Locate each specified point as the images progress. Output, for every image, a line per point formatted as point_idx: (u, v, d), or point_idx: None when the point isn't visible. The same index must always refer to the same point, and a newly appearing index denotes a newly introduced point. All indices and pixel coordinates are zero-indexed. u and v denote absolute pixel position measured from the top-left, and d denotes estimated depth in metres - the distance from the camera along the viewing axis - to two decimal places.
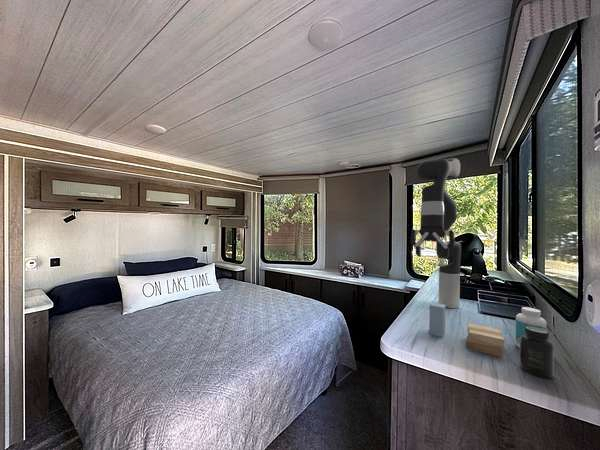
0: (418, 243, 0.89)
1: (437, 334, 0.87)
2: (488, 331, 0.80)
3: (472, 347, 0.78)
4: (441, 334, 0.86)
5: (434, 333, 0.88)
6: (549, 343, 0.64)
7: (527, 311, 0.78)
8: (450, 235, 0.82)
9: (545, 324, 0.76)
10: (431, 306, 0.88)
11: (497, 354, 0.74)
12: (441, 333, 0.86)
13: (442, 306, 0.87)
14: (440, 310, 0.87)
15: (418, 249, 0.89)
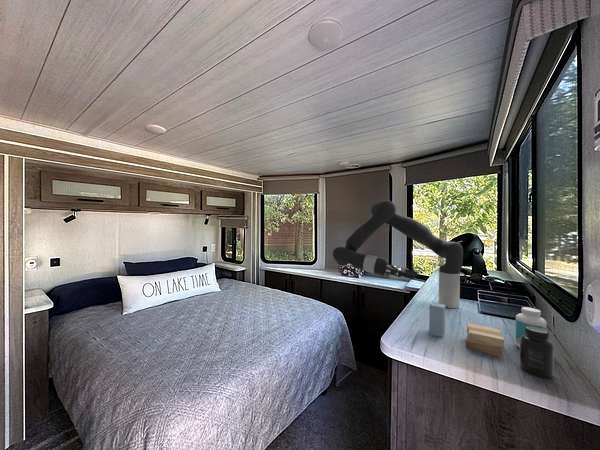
0: None
1: (437, 334, 0.87)
2: (487, 331, 0.80)
3: (472, 347, 0.78)
4: (441, 334, 0.86)
5: (434, 333, 0.88)
6: (549, 343, 0.64)
7: (527, 311, 0.78)
8: (390, 274, 0.94)
9: (545, 324, 0.76)
10: (431, 306, 0.88)
11: (497, 354, 0.74)
12: (441, 333, 0.86)
13: (442, 306, 0.87)
14: (440, 310, 0.87)
15: None
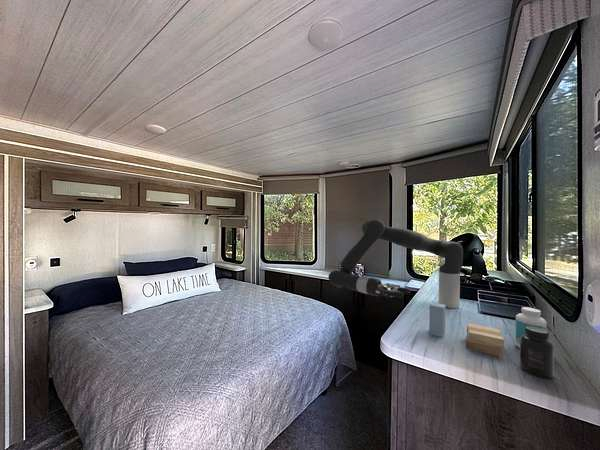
0: None
1: (437, 334, 0.87)
2: (487, 331, 0.80)
3: (471, 347, 0.78)
4: (441, 334, 0.86)
5: (434, 333, 0.88)
6: (549, 343, 0.64)
7: (527, 311, 0.78)
8: None
9: (545, 324, 0.76)
10: (431, 306, 0.88)
11: (496, 354, 0.74)
12: (441, 333, 0.86)
13: (442, 306, 0.87)
14: (440, 310, 0.87)
15: (402, 292, 1.01)
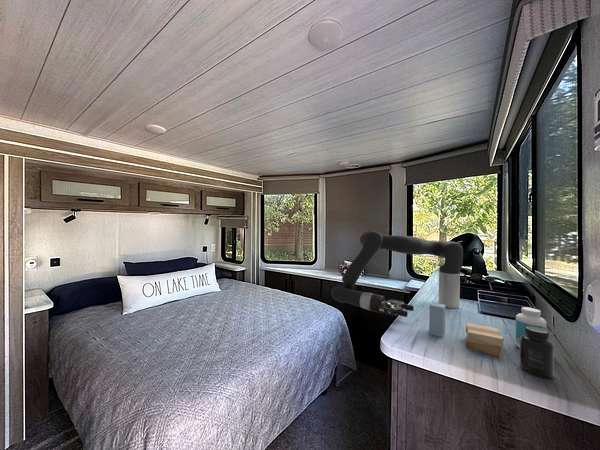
0: None
1: (437, 334, 0.87)
2: (486, 330, 0.80)
3: (471, 347, 0.78)
4: (441, 334, 0.86)
5: (434, 333, 0.88)
6: (549, 343, 0.64)
7: (527, 311, 0.78)
8: None
9: (545, 324, 0.76)
10: (431, 306, 0.88)
11: (496, 354, 0.74)
12: (441, 333, 0.86)
13: (442, 306, 0.87)
14: (440, 310, 0.87)
15: None
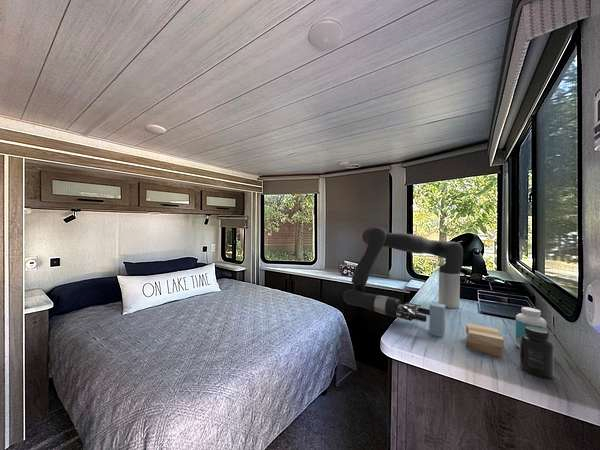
0: None
1: (437, 334, 0.87)
2: (487, 331, 0.80)
3: (472, 347, 0.78)
4: (441, 334, 0.86)
5: (434, 333, 0.88)
6: (549, 343, 0.64)
7: (527, 311, 0.78)
8: None
9: (545, 324, 0.76)
10: (431, 306, 0.88)
11: (497, 354, 0.74)
12: (441, 333, 0.86)
13: (442, 306, 0.87)
14: (440, 310, 0.87)
15: (423, 313, 0.96)
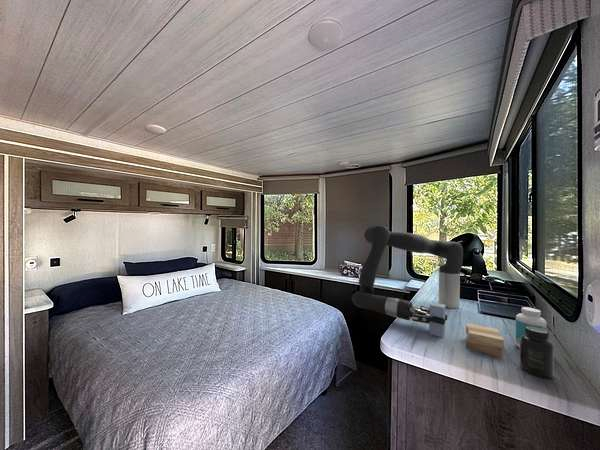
0: None
1: (437, 334, 0.87)
2: (487, 331, 0.80)
3: (472, 347, 0.78)
4: (441, 334, 0.86)
5: (434, 333, 0.88)
6: (549, 343, 0.64)
7: (527, 311, 0.78)
8: None
9: (545, 324, 0.76)
10: (431, 306, 0.88)
11: (497, 354, 0.74)
12: (441, 333, 0.86)
13: (442, 306, 0.87)
14: (440, 310, 0.86)
15: None
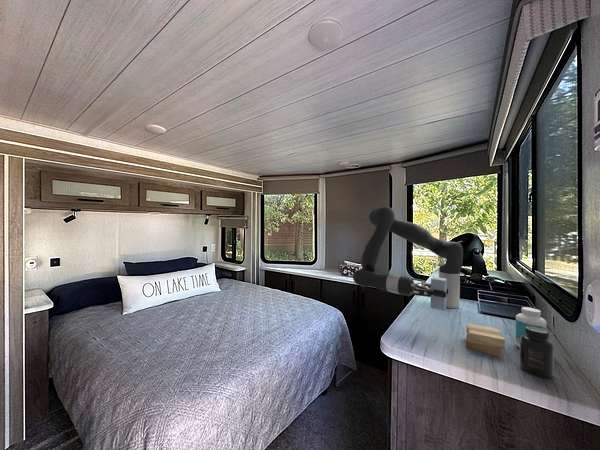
0: None
1: (438, 307, 0.87)
2: (487, 331, 0.80)
3: (471, 347, 0.78)
4: (442, 307, 0.86)
5: (435, 307, 0.88)
6: (549, 343, 0.64)
7: (527, 311, 0.78)
8: None
9: (545, 324, 0.76)
10: (432, 280, 0.88)
11: (496, 354, 0.74)
12: (442, 306, 0.86)
13: (443, 279, 0.87)
14: (441, 283, 0.86)
15: None
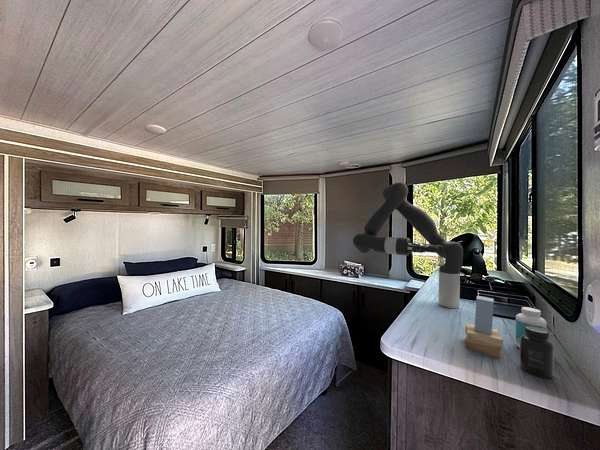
0: None
1: (484, 331, 0.78)
2: None
3: (471, 347, 0.78)
4: (489, 331, 0.77)
5: (481, 330, 0.78)
6: (549, 343, 0.64)
7: (527, 311, 0.78)
8: None
9: (545, 324, 0.76)
10: (478, 300, 0.79)
11: (496, 354, 0.74)
12: (490, 330, 0.77)
13: (491, 300, 0.78)
14: (489, 305, 0.77)
15: None
